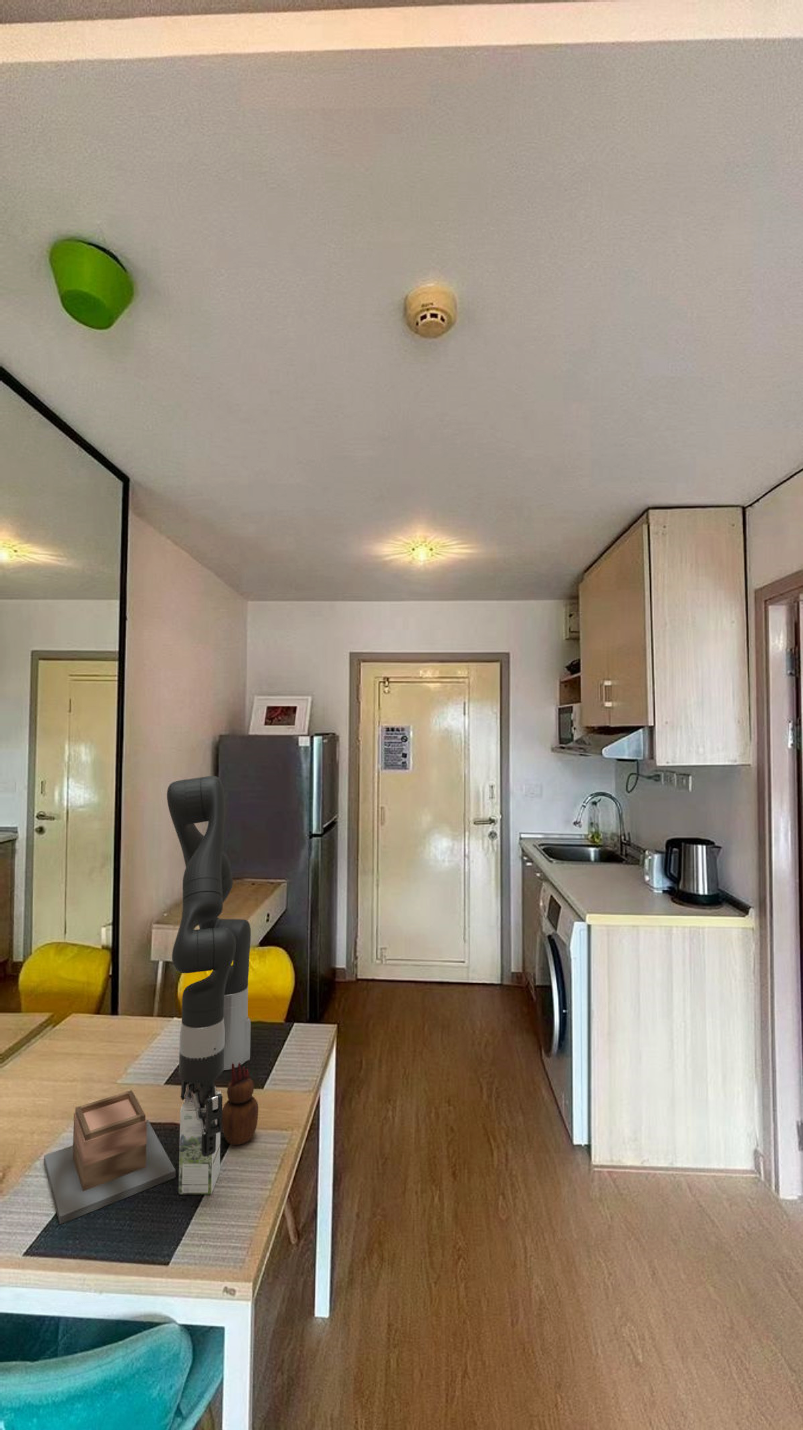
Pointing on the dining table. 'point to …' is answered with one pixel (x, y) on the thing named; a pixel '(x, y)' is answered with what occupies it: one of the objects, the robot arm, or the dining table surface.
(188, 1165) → the syrup box
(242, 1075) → the wooden figurine
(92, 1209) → the tower base
